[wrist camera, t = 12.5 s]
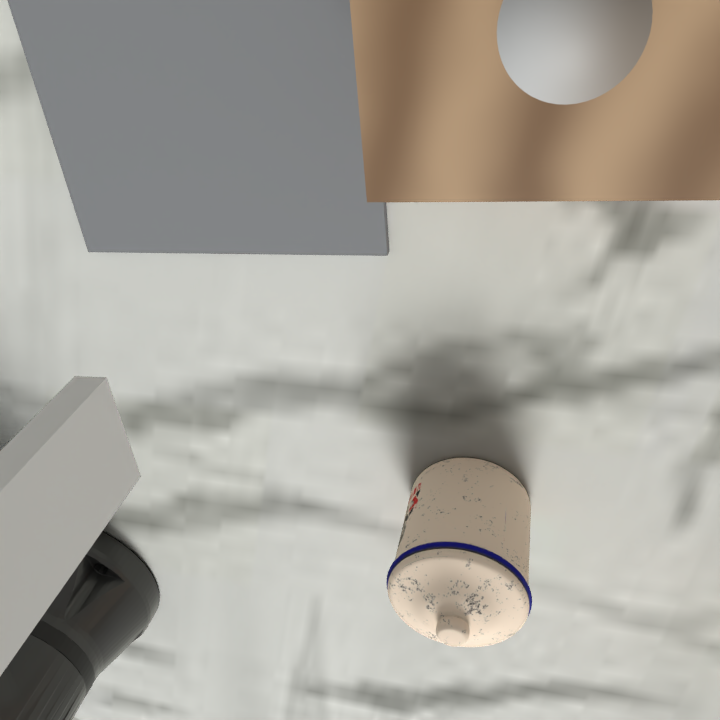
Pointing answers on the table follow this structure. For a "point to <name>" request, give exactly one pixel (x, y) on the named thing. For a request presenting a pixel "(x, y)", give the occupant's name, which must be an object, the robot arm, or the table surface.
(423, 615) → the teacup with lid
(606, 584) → the table surface
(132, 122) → the rubber mat
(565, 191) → the lid board
